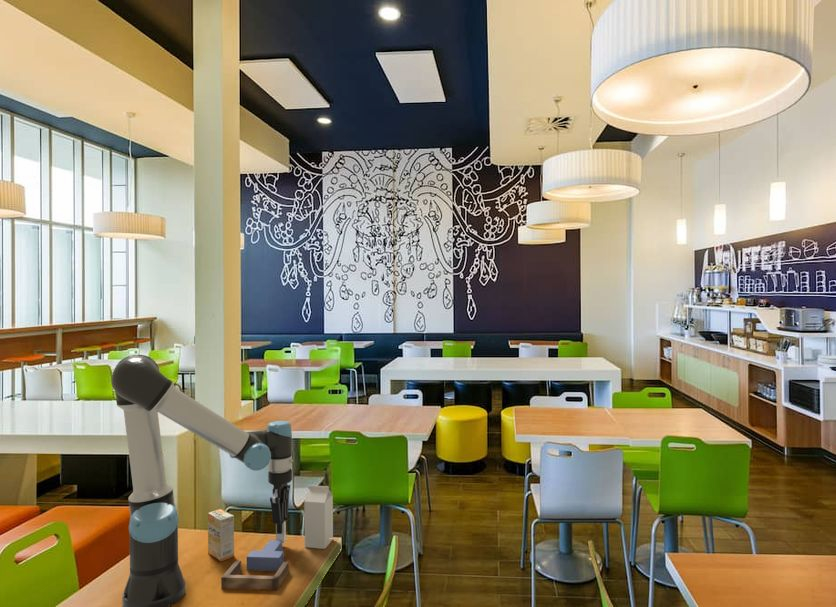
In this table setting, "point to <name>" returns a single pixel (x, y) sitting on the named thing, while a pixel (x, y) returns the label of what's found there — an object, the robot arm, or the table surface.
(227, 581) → the walnut dock
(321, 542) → the milk carton
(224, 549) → the supplement box
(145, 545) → the robot arm
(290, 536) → the table surface
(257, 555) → the slate blue t block
